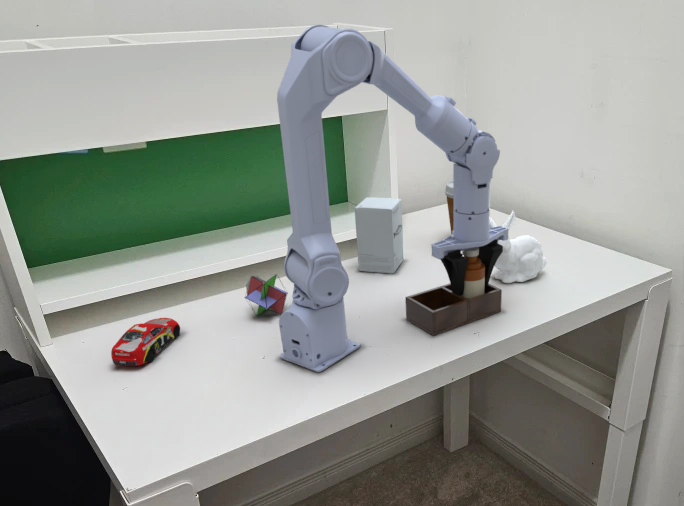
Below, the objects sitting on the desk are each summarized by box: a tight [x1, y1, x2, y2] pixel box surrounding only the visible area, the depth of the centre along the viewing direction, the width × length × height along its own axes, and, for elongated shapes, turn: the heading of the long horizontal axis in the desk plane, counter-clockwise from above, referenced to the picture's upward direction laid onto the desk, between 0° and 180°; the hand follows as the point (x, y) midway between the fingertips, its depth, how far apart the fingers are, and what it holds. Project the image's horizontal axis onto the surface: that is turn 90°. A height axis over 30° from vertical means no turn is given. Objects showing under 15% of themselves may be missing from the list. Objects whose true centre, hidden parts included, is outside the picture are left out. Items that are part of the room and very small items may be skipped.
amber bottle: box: [460, 247, 485, 299], centre depth 109 cm, size 5×5×10 cm
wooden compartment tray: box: [405, 282, 503, 337], centre depth 110 cm, size 14×8×4 cm, turn 128°
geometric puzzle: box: [243, 273, 289, 318], centre depth 110 cm, size 7×7×8 cm
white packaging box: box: [354, 196, 404, 275], centre depth 126 cm, size 7×7×13 cm
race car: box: [110, 317, 181, 367], centre depth 100 cm, size 13×5×4 cm, turn 170°
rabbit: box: [489, 210, 548, 284], centre depth 123 cm, size 12×9×12 cm
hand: (470, 289), depth 110 cm, fingers closed on amber bottle, 5 cm apart
